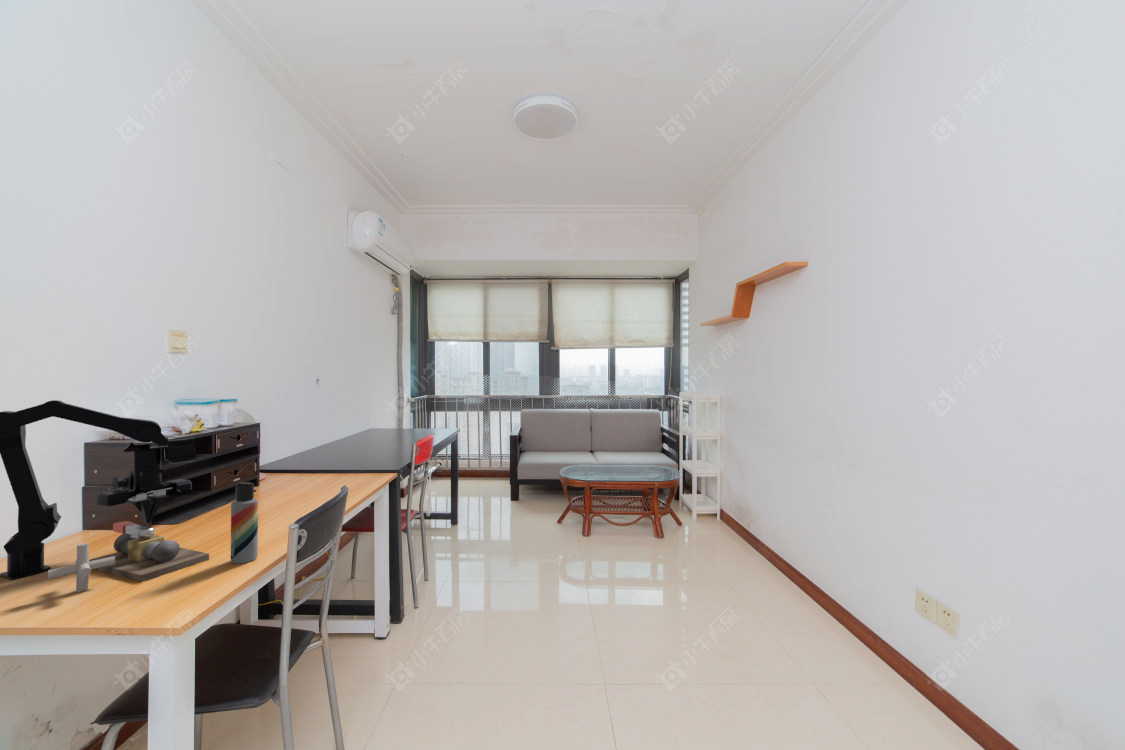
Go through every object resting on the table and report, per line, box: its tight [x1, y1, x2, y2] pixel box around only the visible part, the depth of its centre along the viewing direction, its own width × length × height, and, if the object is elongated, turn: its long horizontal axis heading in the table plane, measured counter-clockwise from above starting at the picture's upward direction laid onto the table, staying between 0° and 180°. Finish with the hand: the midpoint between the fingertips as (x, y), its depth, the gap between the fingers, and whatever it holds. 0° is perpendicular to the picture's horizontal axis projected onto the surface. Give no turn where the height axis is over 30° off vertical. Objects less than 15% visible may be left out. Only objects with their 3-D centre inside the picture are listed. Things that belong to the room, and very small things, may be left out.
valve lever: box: [112, 520, 155, 538], centre depth 116 cm, size 15×3×2 cm, turn 66°
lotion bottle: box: [230, 481, 259, 565], centre depth 115 cm, size 6×6×20 cm
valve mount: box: [89, 533, 210, 583], centre depth 113 cm, size 24×14×6 cm, turn 69°
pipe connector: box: [47, 542, 115, 593], centre depth 99 cm, size 10×10×10 cm
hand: (147, 523), depth 123 cm, fingers closed
